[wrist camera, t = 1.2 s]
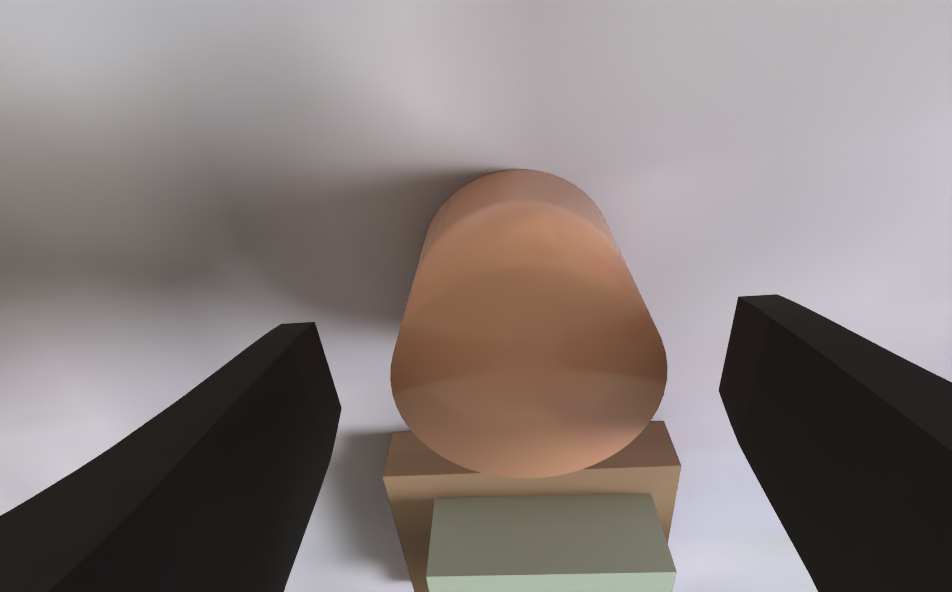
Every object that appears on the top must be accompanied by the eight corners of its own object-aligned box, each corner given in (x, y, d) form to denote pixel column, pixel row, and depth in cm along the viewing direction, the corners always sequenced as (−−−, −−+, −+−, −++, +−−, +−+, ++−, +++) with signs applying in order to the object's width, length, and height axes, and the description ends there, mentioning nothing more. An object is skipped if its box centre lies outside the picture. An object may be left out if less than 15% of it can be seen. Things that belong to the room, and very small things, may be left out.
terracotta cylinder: (607, 332, 13) (654, 474, 9) (436, 341, 14) (413, 482, 10) (617, 160, 11) (683, 256, 7) (409, 177, 11) (364, 276, 7)
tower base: (637, 560, 19) (653, 622, 18) (430, 564, 20) (424, 626, 18) (657, 405, 15) (681, 465, 13) (395, 417, 16) (382, 476, 14)
